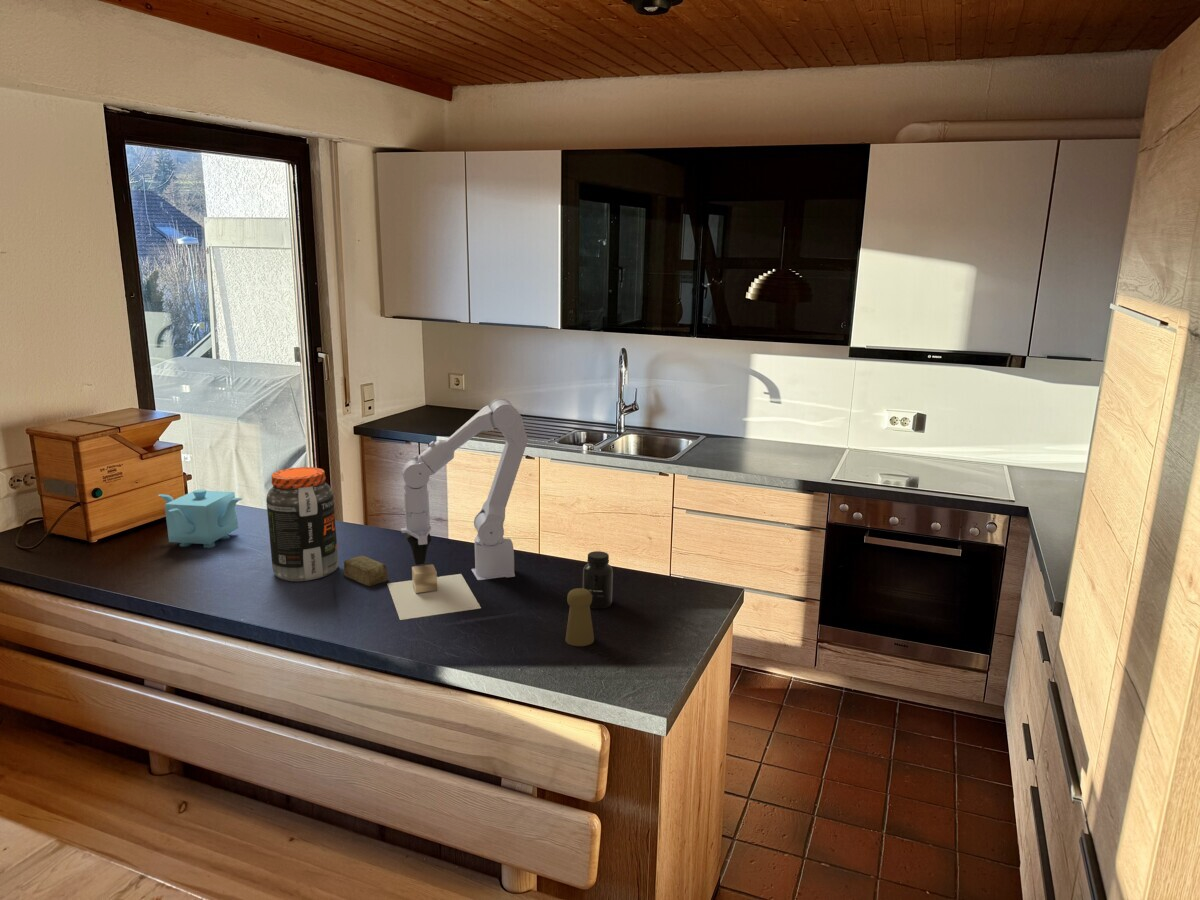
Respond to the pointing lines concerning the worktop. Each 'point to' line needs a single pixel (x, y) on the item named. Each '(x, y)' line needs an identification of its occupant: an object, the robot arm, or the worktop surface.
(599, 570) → the supplement bottle
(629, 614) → the worktop surface
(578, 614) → the wooden peg doll
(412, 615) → the mat
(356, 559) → the stone block
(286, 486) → the supplement tub
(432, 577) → the cube
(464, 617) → the worktop surface
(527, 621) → the worktop surface
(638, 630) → the worktop surface
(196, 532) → the teakettle
